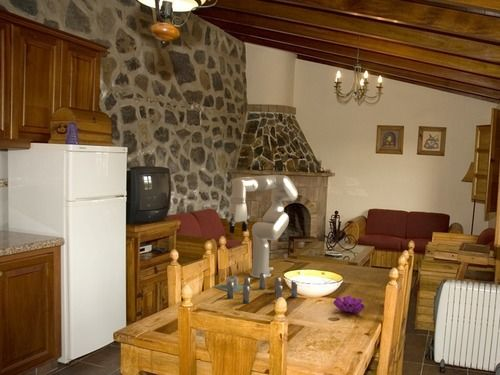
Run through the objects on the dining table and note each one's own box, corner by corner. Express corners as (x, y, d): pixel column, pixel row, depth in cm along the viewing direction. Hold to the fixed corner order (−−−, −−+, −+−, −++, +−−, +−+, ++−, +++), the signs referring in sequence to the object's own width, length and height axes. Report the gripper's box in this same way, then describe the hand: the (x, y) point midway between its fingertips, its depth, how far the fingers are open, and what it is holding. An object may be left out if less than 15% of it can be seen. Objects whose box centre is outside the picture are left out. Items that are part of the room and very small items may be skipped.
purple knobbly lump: (344, 323, 205) (332, 305, 206) (345, 312, 220) (333, 295, 221) (366, 310, 203) (353, 292, 204) (365, 300, 218) (353, 283, 218)
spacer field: (261, 287, 248) (262, 272, 248) (298, 297, 232) (298, 281, 232) (225, 297, 228) (226, 281, 228) (262, 309, 212) (263, 292, 212)
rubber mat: (231, 282, 257) (232, 282, 257) (250, 287, 248) (250, 287, 247) (213, 287, 247) (213, 286, 247) (232, 292, 237) (232, 292, 237)
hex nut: (224, 286, 247) (224, 277, 247) (231, 284, 251) (231, 275, 251) (232, 289, 243) (232, 279, 243) (240, 287, 247) (240, 277, 247)
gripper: (244, 199, 263) (243, 229, 264) (222, 201, 251) (222, 232, 252) (254, 200, 258) (253, 231, 259) (232, 202, 246) (232, 234, 247)
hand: (238, 232), depth 255 cm, fingers open, 9 cm apart
